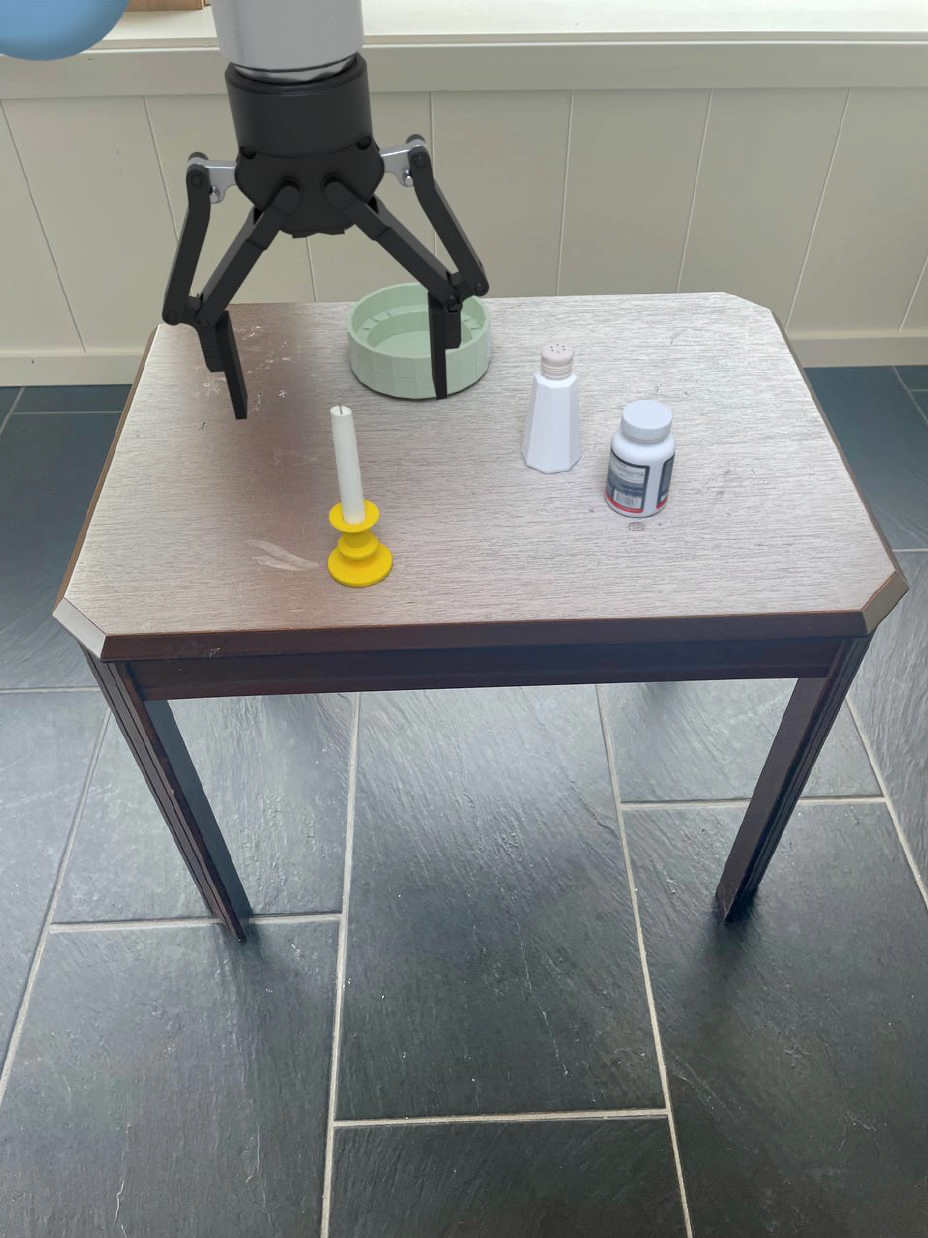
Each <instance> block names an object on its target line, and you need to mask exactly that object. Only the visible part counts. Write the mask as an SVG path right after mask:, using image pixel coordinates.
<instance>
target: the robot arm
mask: <svg viewBox="0 0 928 1238" xmlns="http://www.w3.org/2000/svg"><path fill="white" fill-rule="evenodd" d="M130 1H131V0H0V55H3V56H7V57H10V58H15V59H19V60H26V61H33V62H34V61H36V62H50V61H58V60H64V59H67V58H70V57H74V56H77V55H79V54H81V53H83V52H85V51H87V50H88V49H90V48H92V47H93V46H95V45H97V44H98V43H99V42H101V41H102V40H103V39H104V38H105V37H107V36H108V35H109V34H110V33H111V31H113V30H114V28H115V27H116V25H117V24H118V23H119V21H120V20H121V19H122V17H123V15H124V13H125V11H126V9H127V8H128V6H129V4H130ZM209 3H210V7H211V13H212V19H213V22H214V23H213V24H214V27H215V34H216V39H217V43H218V44H217V45H218V48H219V53H220V55H221V56H222V57H223V58H224V59H225V60H226V61H228V62H229V63H228V65H227V67H226V69H225V71H224V75H223V76H224V82H225V87H226V91H227V96H228V102H229V107H230V112H231V118H232V122H233V127H234V128H233V129H234V133H235V138H236V143H237V154H236V158H235V160H220V159H219V160H217V159H212V160H211V159H209V157H208V156H207V154H205V153H204V152H201V151H193V152H192V153H190V154H189V156H188V159H187V164H186V173H185V186H186V193H187V194H186V195H187V202H188V204H187V206H186V211H185V214H184V219H183V222H182V226H181V229H180V234H179V238H178V241H177V245H176V249H175V253H174V256H173V260H172V265H171V268H170V271H169V276H168V280H167V284H166V287H165V292H164V296H163V303H162V309H161V310H162V311H161V318H162V321H163V322H164V323H165V324H166V325H167V326H168V325H169V326H171V327H172V326H178V325H180V324H182V325H187V326H190V327H192V328H193V329H194V330H195V331H196V333H197V336H198V340H199V342H200V346H201V351H202V355H203V360H204V363H205V367H206V368H207V370H208V371H209V372H210V373H211V374H213V373H223V372H224V377H225V380H226V385H227V388H228V392H229V397H230V401H231V406H232V409H233V413H234V417H235V421H238V420H240V421H241V420H247V419H248V406H249V405H248V404H249V401H248V398H249V395H248V390H247V385H246V382H245V377H244V374H243V368H242V364H241V359H240V355H239V351H238V346H237V342H236V337H235V333H234V328H233V323H232V318H231V316H230V310H229V309H227V308H228V306H229V304H230V303H231V301H232V300H233V298H234V297H235V295H236V294H237V292H238V291H239V289H240V288H241V286H243V283H244V282H245V280H246V278H247V277H248V275H249V274H250V272H252V269H253V268H254V267H255V265H256V264H257V262H258V260H259V259H260V257H261V256H262V254H263V253H264V252H266V251H267V250H268V249H269V248H270V246H271V245H272V243H273V242H274V240H275V239H276V237H277V236H278V234H279V232H282V233H283V234H285V235H290V236H291V238H292V240H295V239H304V238H308V237H310V236H314V235H316V234H322V235H328V236H339V235H345V234H346V231H348V230H349V229H351V228H352V227H354V226H356V228H358V229H359V230H360V231H361V232H362V233H363V234H364V235H365V236H366V237H367V238H368V239H369V240H371V241H373V242H376V243H378V245H380V246H381V248H383V249H384V250H385V251H386V252H387V253H388V254H389V255H390V256H391V257H392V258H393V259H394V260H395V261H396V262H397V263H399V265H401V266H402V267H403V269H405V270H406V271H407V273H408V274H410V275H411V276H412V277H413V278H414V279H415V280H416V281H417V282H420V283H421V284H422V285H423V286H424V287H425V288H426V289H427V290H428V291H429V292H427V294H428V312H429V330H430V348H431V367H432V379H433V384H434V389H435V394H436V397H435V398H436V400H437V401H439V400H446V399H447V400H448V399H449V398H448V397H449V396H448V394H447V373H446V350H448V349H458V348H459V347H460V344H461V342H462V339H461V310H462V308H463V302H464V301H465V300H466V299H467V298H469V297H472V296H477V297H479V298H481V297H484V296H485V295H487V294H488V292H489V290H490V284H489V281H488V277H487V274H486V271H485V268H484V265H483V263H482V261H481V259H480V258H479V256H478V254H477V252H476V251H475V249H474V246H473V245H472V243H471V242H470V240H469V238H468V236H467V234H466V232H465V230H464V229H463V227H462V225H461V224H460V222H459V219H458V218H457V216H456V214H455V212H454V211H453V209H452V207H451V206H450V203H449V202H448V200H447V199H446V196H445V195H444V193H443V191H442V189H441V187H440V186H439V184H438V182H437V181H436V179H435V177H434V172H433V166H432V159H431V156H430V152H429V149H428V145H427V142H426V139H425V138H424V136H423V135H421V134H419V133H413V134H410V135H409V136H408V137H407V138H406V141H405V143H403V144H398V145H393V146H388V147H384V148H380V147H379V145H378V144H377V141H376V140H375V138H374V130H373V129H374V128H373V120H372V108H371V97H370V96H371V95H370V86H369V85H370V83H369V75H368V64H367V60H366V59H365V58H364V57H363V56H362V55H361V53H360V52H359V51H360V50H361V49H362V47H363V46H364V44H365V42H366V41H365V28H364V15H363V6H362V0H209ZM385 173H388V174H389V173H390V174H393V175H394V176H395V177H396V179H397V180H398V182H399V184H400V185H401V186H402V187H405V188H411V187H413V189H414V194H415V196H416V199H417V201H418V204H419V205H420V207H421V209H422V210H423V212H424V213H425V215H426V217H427V219H428V220H429V221H428V222H430V225H431V226H432V228H433V229H434V231H435V232H436V234H437V236H438V238H439V240H440V241H441V243H442V245H443V246H444V248H445V249H446V252H447V253H448V255H449V257H450V259H451V260H452V262H453V264H454V266H455V267H456V269H457V270H458V271H456V272H454V273H452V272H451V270H450V269H448V268H447V267H446V266H445V265H444V264H443V263H442V262H441V261H440V260H439V259H438V258H437V256H435V255H434V254H433V253H432V252H431V251H430V250H429V249H428V248H427V247H426V246H425V244H423V243H422V242H421V241H420V240H419V239H418V238H417V237H416V236H415V235H414V234H413V233H412V232H411V231H410V230H409V229H408V228H407V227H406V226H405V225H404V224H403V223H402V222H401V221H400V220H399V219H398V218H397V217H396V216H395V215H394V214H393V213H392V212H391V211H390V210H389V209H388V208H387V207H386V205H385V204H384V202H383V201H382V200H381V198H379V196H378V195H377V194H376V191H377V189H378V188H379V186H380V184H381V183H382V180H383V179H384V176H385ZM232 186H236V187H237V189H238V191H240V192H241V193H242V194H243V196H244V197H246V198H247V200H249V202H251V203H252V204H253V205H252V207H251V209H250V210H249V212H248V215H247V217H246V219H245V222H244V223H243V225H242V226H241V228H240V230H239V231H238V232H237V234H236V236H235V238H234V239H233V241H232V243H231V244H230V245H229V246H228V248H227V250H226V252H225V254H223V257H222V258H221V260H220V262H219V263H218V265H217V266H216V268H215V269H214V271H213V272H212V274H211V275H210V277H209V278H208V280H207V282H206V284H205V285H204V286H203V288H202V290H201V292H200V293H198V292H197V293H196V296H193V295H190V292H191V288H192V285H193V281H194V278H195V275H196V271H197V267H198V263H199V261H200V257H201V253H202V251H203V250H202V249H203V246H204V243H205V239H206V235H207V232H208V228H209V224H210V219H211V212H212V211H211V210H212V204H213V205H214V204H220V203H221V202H223V201H224V199H225V196H226V192H227V190H228V189H229V188H230V187H232Z"/></svg>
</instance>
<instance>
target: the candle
mask: <svg viewBox="0 0 928 1238" xmlns="http://www.w3.org/2000/svg"><path fill="white" fill-rule="evenodd" d="M329 412H330V420H331V421H330V422H331V423H330V424H331V432H332V441H333V446H334V455H335V463H336V471H337V478H338V485H339V486H338V487H339V493H340V501H339V502H338V503H337V504H335V505H334V506H333V507H332V508H331V509H330V511H329V514H328V521H329V523H330V525H331V526H332V527H333V528H334V529H336V530H338V531H340V532H341V536H340V537H339V538H338V541H337V546H336V547H335V548H334V549H333V550H332V551H331V553H330V554H329V556H328V559H327V570H328V572H329V575H330V576H331V578H332V579H333V580H334V581H336V582H337V583H339V584H341V585H344V586H347V587H351V588H366V587H370V586H373V585H376V584H378V583H380V582H382V581H383V580H384V579H385V578H386V577H388V576H389V574H390V573H391V571H392V569H393V563H394V562H393V555H392V552H391V550H390V549H389V548H388V547H387V546H386V545H385V544H384V543H382V542H380V541H379V540H378V537H377V536H376V534H375V533H373V532H372V531H371V528H372V527H374V526H375V525H376V524H377V522H378V521H379V518H380V510H379V508H378V506H377V505H376V504H375V503H374V502H372V501H370V500H367V499H364V491H363V484H362V476H361V467H360V460H359V451H358V444H357V443H358V442H357V438H356V437H357V435H356V428H355V423H354V422H355V421H354V417H353V411H352V409H351V408H349V407H347V406H343V405H342V403H340V402H339V404H338V405H336V406H333V407H331V408H330V411H329Z"/></svg>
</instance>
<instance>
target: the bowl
mask: <svg viewBox="0 0 928 1238" xmlns="http://www.w3.org/2000/svg"><path fill="white" fill-rule="evenodd" d="M427 292H429V291H428V290H427V289H426V288H425V287H424V286H423V285H422V284H421V283H420V282H419V281H414V282H404V283H403V282H402V283H397V284H393V285H390V286H385V287H381V288H379V289H376V290H375V291H373V292H370V293H368V294H366V295H364V296H362V297H361V298H360V299H359V300H358V301H357V302H356V303H354V304H353V305H352V306H351V307H350V310H349V312H348V313H347V316H346V318H345V323H346V332H347V340H348V348H349V349H348V350H349V357H350V358H349V359H350V367H351V371H352V373H354V375H355V376H356V378H357V379H358V380H359V381H360V382H361V383H362V384H363V385H365V386H367V387H368V388H370V389H371V390H373V391H375V392H378V393H381V394H385V395H388V396H392V397H394V398H405V399H417V400H418V399H430V398H436V394H435V389H434V384H433V379H432V367H431V348H430V330H429V312H428V294H427ZM491 326H492V317H491V314H490V311H489V307H488V305H487V304H486V303H485V302H483V300H482V299H481V297H477V296H472V297H469V298H467V299H466V300H465V301H464V302H463V308H462V310H461V339H462V342H461V344H460V347H459V348H458V349H448V350H446V373H447V395H451V394H454V393H457V392H460V391H462V390H464V389H466V388H468V387H469V386H471V385H473V384H474V383H476V382H478V381H479V379H481V377H482V376H483V375H484V374H485V373H486V372H487V371H488V368H489V365H490V362H491V346H492V345H491V343H492V342H491V339H492V338H491V336H492V335H491V333H492V331H491V330H492V329H491V328H492V327H491Z"/></svg>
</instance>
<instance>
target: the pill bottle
mask: <svg viewBox="0 0 928 1238" xmlns="http://www.w3.org/2000/svg"><path fill="white" fill-rule="evenodd" d="M621 412H622V413H621V417H620V418H621V419H620V426H619V427H618V428H616V429H615V431H614V432H613V434H612V437H611V441H610V449H609V455H608V456H609V458H608V466H607V474H606V475H607V477H606V484H605V499H606V502H607V504H608V505H609V507H610V508H611V509H613V510H614V511H616V513H619V514H621V515H623V516H625V517H631V518H645V517H650V516H653V515H656V514H657V513H659V512H660V511H662V510H663V509H664V508H665V507H666V504H667V501H668V498H669V497H668V496H669V491H670V486H671V481H672V474H673V468H674V462H675V457H676V456H675V455H676V448H677V441H676V438H675V437H676V436H675V435H674V433H673V432H672V430H671V429H672V425H673V412H672V410H671V408H670V407H668V406H667V405H666V404H665V403H662V402H660V401H657V400H655V399H654V400H653V399H637V400H634V401H630V402H629V403H627V404H626V405H625V406H624V408H623V409H622V411H621Z"/></svg>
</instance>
